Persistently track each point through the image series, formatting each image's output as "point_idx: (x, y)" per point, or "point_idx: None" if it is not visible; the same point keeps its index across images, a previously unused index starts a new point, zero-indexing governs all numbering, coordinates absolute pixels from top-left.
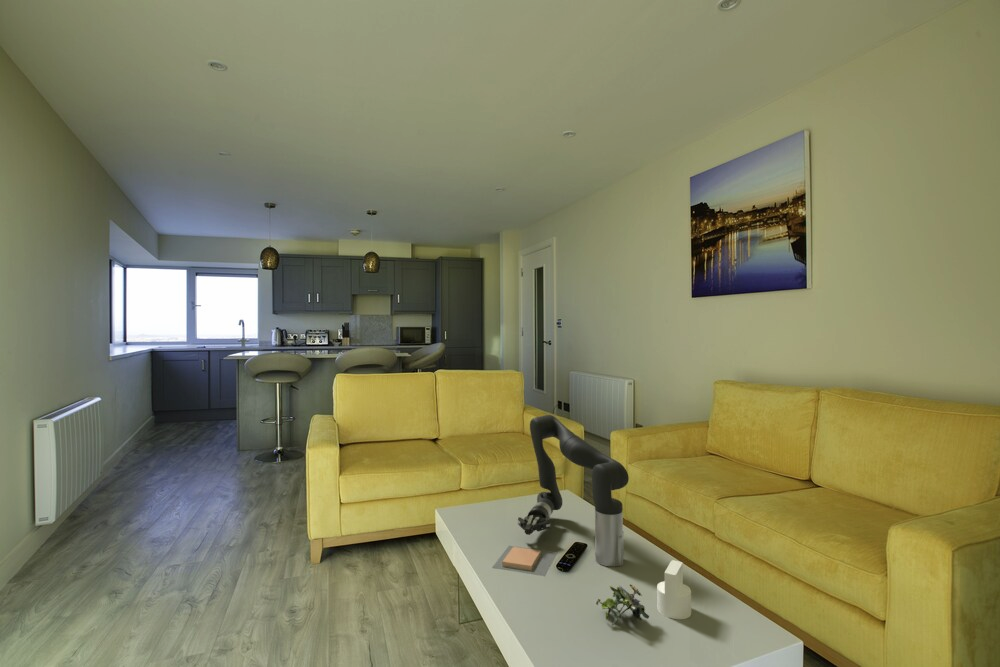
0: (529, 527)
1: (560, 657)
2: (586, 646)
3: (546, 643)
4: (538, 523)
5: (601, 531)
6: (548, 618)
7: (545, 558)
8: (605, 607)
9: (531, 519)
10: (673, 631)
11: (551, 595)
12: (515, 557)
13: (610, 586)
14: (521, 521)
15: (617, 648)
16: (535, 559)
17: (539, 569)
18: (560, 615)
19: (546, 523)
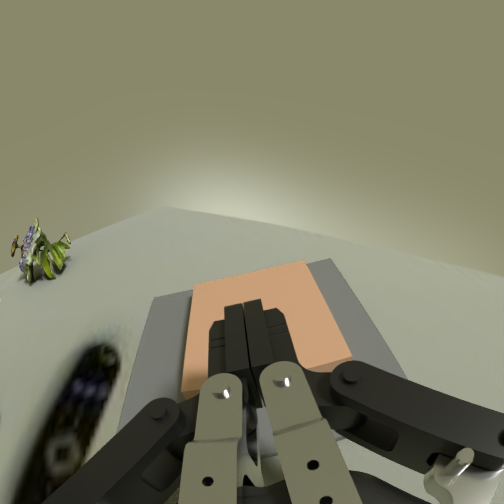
0: (235, 321)
1: (135, 216)
2: (106, 232)
3: (149, 217)
4: (160, 431)
5: None
6: (146, 234)
7: (161, 386)
8: (61, 252)
9: (287, 468)
10: (11, 281)
11: (139, 264)
12: (276, 295)
13: (40, 229)
14: (407, 381)
15: (76, 243)
16: (189, 321)
17: (174, 314)
18: (128, 244)
19: (79, 479)
